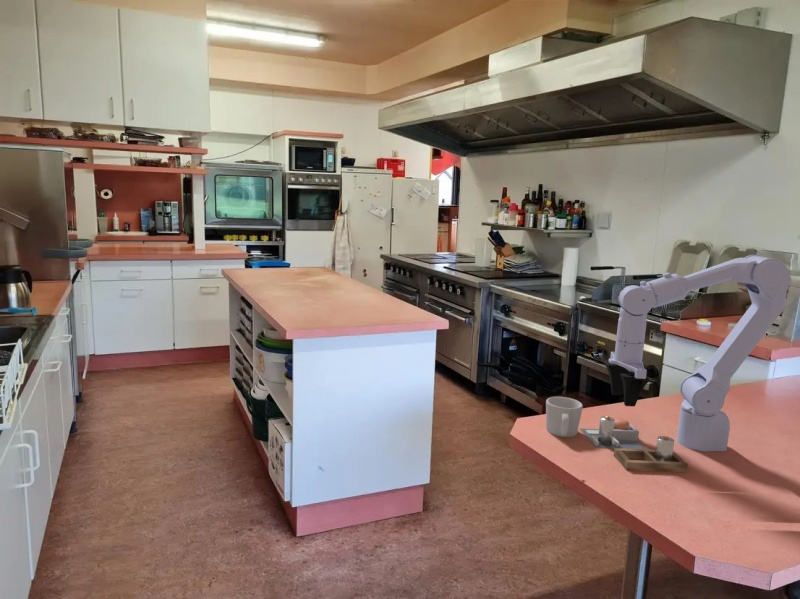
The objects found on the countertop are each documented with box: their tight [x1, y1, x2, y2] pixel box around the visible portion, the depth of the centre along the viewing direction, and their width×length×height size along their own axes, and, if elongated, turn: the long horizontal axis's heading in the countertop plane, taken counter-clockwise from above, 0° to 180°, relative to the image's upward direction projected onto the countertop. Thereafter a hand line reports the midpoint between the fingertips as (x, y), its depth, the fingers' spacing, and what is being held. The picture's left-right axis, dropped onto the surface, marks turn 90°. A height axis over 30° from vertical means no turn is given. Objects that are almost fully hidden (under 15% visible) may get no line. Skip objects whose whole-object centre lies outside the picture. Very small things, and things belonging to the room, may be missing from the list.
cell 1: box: [598, 415, 616, 446], centre depth 124 cm, size 3×3×6 cm
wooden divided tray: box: [613, 448, 689, 473], centre depth 115 cm, size 12×6×3 cm, turn 91°
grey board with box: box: [578, 422, 647, 450], centre depth 127 cm, size 11×10×3 cm
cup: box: [545, 396, 584, 438], centre depth 128 cm, size 11×8×8 cm
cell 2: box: [655, 435, 675, 462], centre depth 115 cm, size 3×3×6 cm
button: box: [614, 418, 630, 430], centre depth 129 cm, size 4×4×2 cm
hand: (623, 400), depth 128 cm, fingers open, 6 cm apart
